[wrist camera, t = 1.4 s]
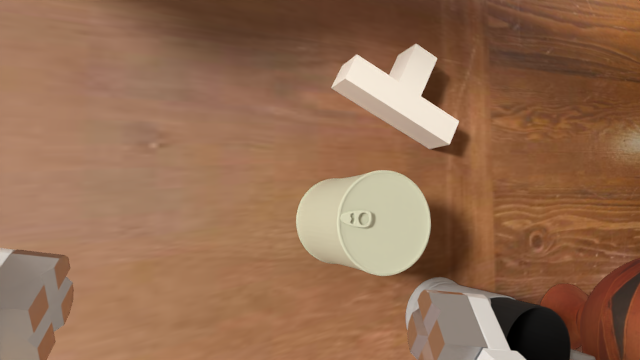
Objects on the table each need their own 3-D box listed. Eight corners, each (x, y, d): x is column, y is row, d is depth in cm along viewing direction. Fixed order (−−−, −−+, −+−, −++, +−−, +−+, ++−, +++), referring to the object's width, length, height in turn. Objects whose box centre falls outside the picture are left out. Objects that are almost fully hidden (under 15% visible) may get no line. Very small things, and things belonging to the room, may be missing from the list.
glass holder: (415, 269, 55) (508, 289, 40) (511, 295, 59) (625, 321, 45) (398, 346, 53) (488, 394, 39) (498, 367, 58) (611, 416, 43)
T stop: (429, 149, 56) (449, 144, 52) (331, 88, 52) (345, 78, 49) (453, 92, 58) (474, 83, 54) (359, 29, 54) (375, 15, 50)
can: (299, 173, 51) (343, 162, 39) (377, 183, 54) (438, 175, 42) (291, 260, 50) (334, 274, 38) (370, 265, 53) (431, 279, 41)
